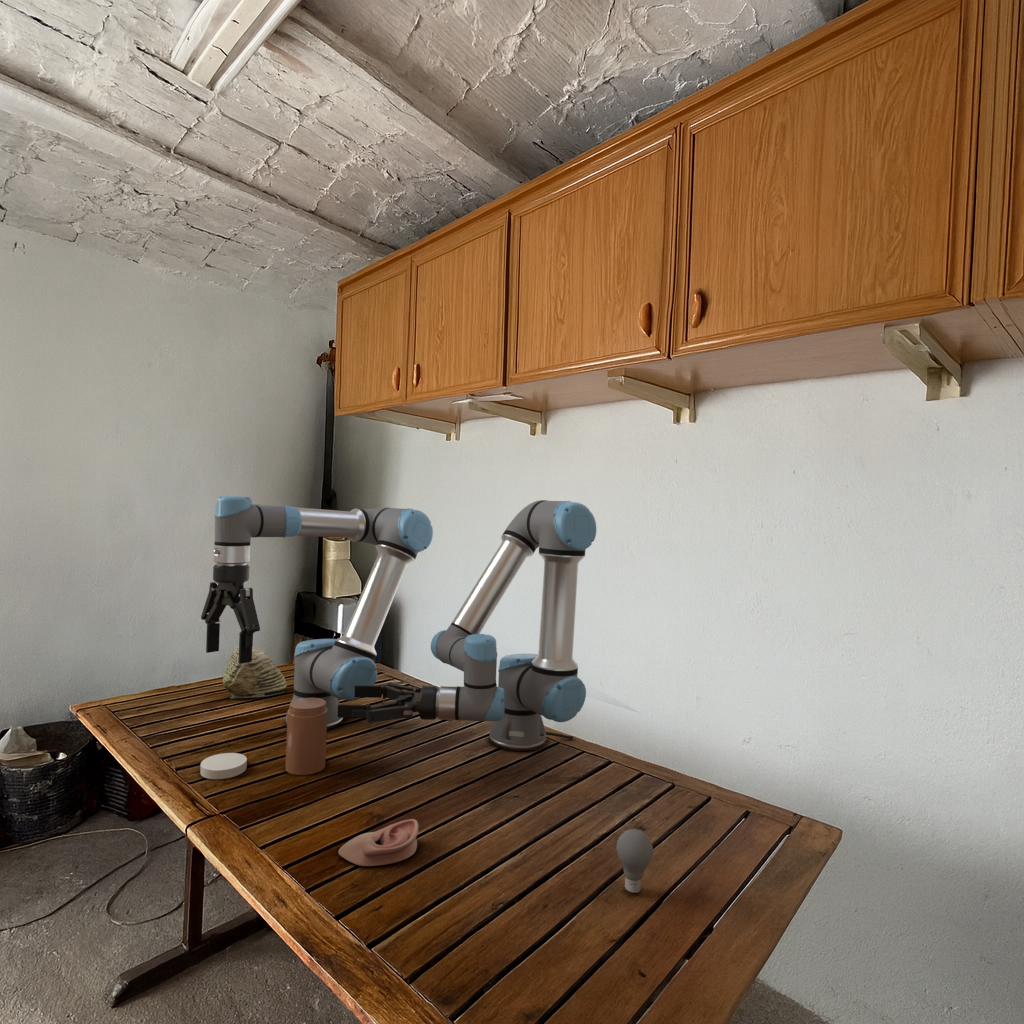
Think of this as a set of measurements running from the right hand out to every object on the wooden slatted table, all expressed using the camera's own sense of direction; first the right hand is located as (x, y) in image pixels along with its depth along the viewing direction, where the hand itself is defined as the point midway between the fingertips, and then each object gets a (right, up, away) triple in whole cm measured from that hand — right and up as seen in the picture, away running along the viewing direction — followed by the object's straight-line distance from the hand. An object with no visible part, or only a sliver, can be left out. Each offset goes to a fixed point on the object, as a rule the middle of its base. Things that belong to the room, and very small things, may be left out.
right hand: (346, 700), depth 147 cm
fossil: (-42, -13, +51) cm, 68 cm away
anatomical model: (+14, -17, -32) cm, 40 cm away
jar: (-10, -16, +1) cm, 19 cm away
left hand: (-26, +11, -3) cm, 28 cm away
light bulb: (+58, -20, -41) cm, 74 cm away
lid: (-27, -13, -2) cm, 31 cm away
